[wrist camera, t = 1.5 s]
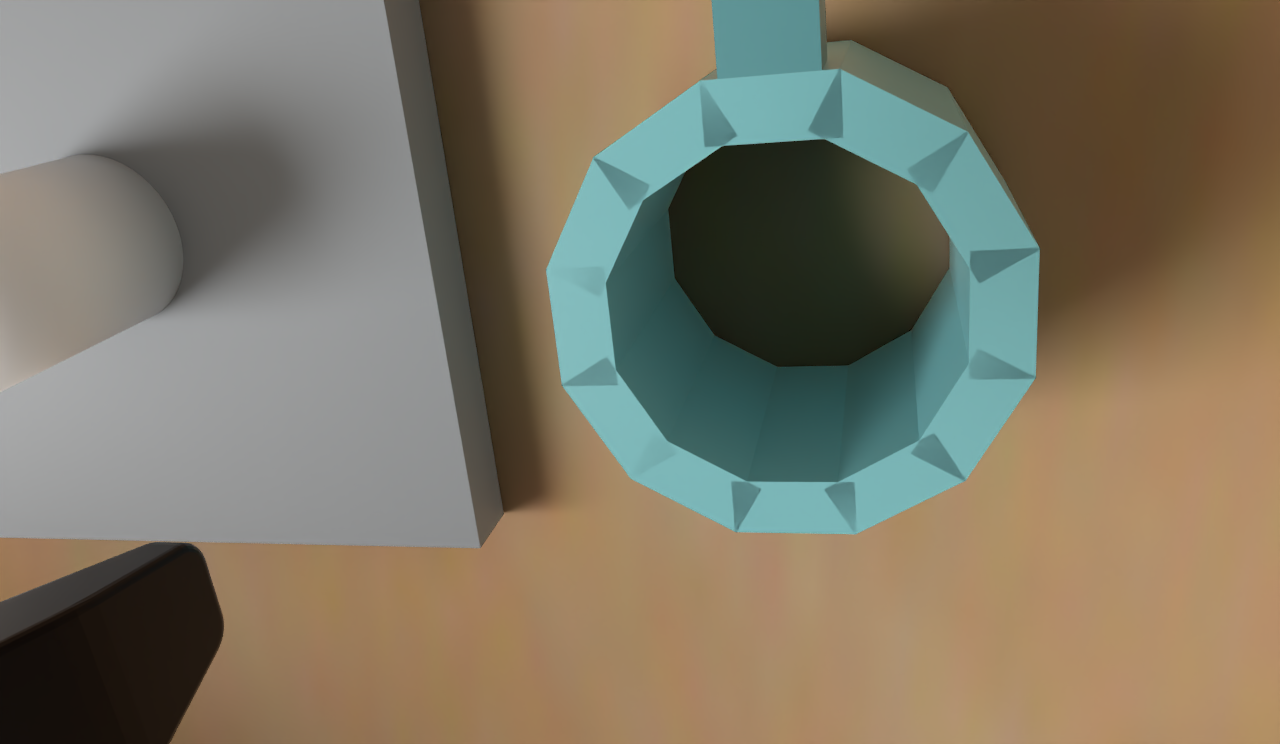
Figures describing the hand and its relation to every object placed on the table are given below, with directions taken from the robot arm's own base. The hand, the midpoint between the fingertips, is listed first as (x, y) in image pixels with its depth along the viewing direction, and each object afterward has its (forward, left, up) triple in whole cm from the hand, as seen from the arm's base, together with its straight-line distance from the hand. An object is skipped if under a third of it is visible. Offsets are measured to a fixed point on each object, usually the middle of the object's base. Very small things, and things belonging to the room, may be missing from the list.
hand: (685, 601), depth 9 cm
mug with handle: (0, 0, -12) cm, 12 cm away
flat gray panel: (+1, +14, -12) cm, 19 cm away
